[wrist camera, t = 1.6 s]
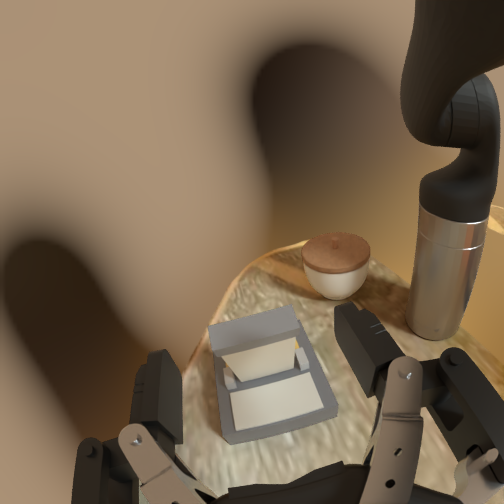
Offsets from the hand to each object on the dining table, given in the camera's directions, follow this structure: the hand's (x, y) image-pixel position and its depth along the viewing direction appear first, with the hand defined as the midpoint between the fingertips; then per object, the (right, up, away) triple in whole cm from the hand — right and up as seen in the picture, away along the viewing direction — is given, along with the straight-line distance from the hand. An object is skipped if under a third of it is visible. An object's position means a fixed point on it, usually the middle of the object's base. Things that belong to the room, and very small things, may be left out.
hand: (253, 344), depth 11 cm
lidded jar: (+14, -2, +33) cm, 36 cm away
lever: (+2, -9, +17) cm, 20 cm away
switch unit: (+2, -12, +19) cm, 23 cm away
